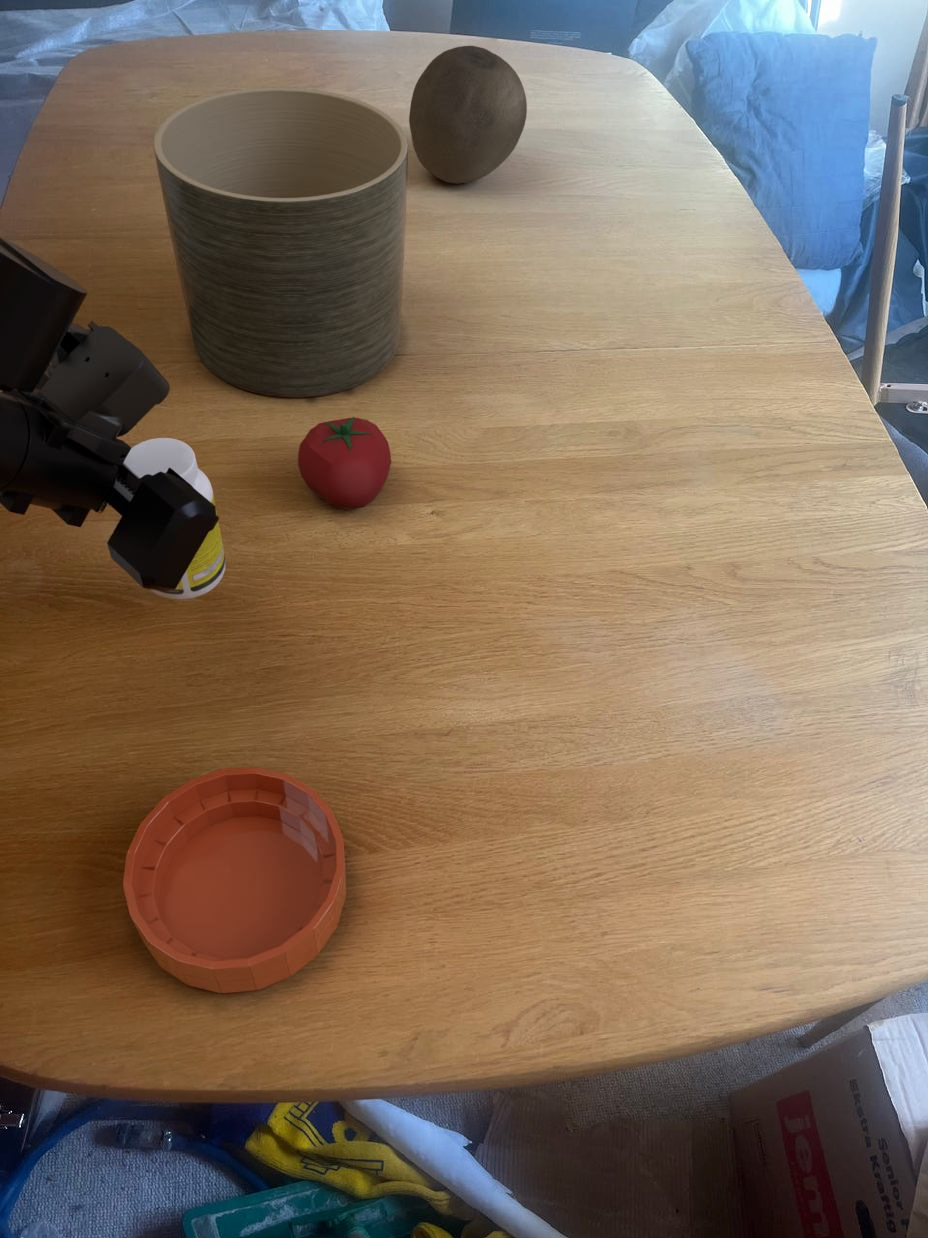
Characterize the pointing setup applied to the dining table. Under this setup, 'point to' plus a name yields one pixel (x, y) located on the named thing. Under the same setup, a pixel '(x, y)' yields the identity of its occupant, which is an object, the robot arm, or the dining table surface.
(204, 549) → the pill bottle
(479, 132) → the egg shaped brown fruit
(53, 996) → the dining table surface
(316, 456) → the tomato
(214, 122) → the planter
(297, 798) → the bowl
